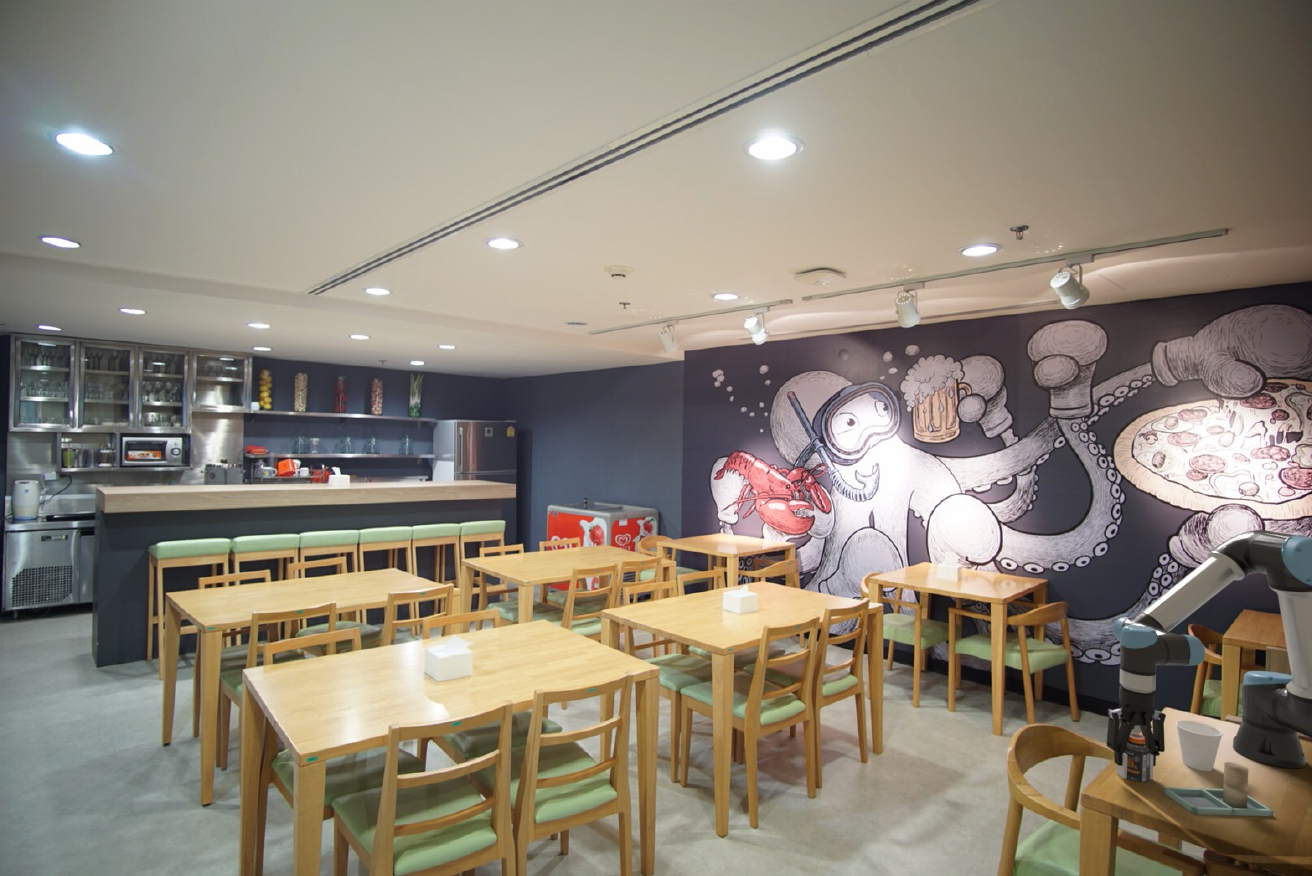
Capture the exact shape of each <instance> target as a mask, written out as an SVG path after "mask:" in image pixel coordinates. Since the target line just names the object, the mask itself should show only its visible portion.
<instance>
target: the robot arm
mask: <svg viewBox="0 0 1312 876" xmlns="http://www.w3.org/2000/svg"><path fill="white" fill-rule="evenodd" d="M1252 574H1261V575H1262V574H1263V575H1266V578H1267V585H1268V588H1269V589H1271V590H1272V591H1273V592H1275V593H1276V594H1277V597H1278V598H1277V599H1278V602H1279V603H1278V604H1279V610H1280V615H1281V620H1282V621H1281V622H1282V627H1283V632H1284V638H1285V644H1286V651H1287V658H1288V663H1289V668H1290V674H1287V673H1282V672H1276V671H1275V672H1274V671H1267V670H1266V671H1265V670H1264V671H1263V670H1250V671H1247V672H1246V673H1244V675H1243V682H1242V685H1241V686H1242V702H1241V703H1242V704H1241V706H1242V707H1241V708H1242V709H1241V712H1242V713H1241V714H1242V715H1241V723H1240V725H1239V728H1238V730H1237V731H1236V734H1235V736H1234V737H1233V739H1232V748H1233V750H1234V751H1236V752H1237V753H1238V754H1240V755H1242V756H1244V757H1246V758H1248V759H1249V760H1250V759H1251V760H1253V761H1256V762H1259V763H1262V764H1265V765H1269V766H1274V767H1279V768H1285V769H1302V768H1305V766H1306V755H1305V753H1304V750H1303V747H1302V744H1301V741H1300V737H1299V735H1298V734H1301V735H1304V736H1305V737H1308V738H1310V739H1312V537H1310V536H1308V535H1303V534H1302V535H1301V534H1291V533H1284V532H1277V531H1271V530H1265V529H1255V530H1254V529H1253V530H1249V531H1246V532H1245V531H1244V532H1242V533H1239V534H1236V535H1235V536H1232V537H1230V538H1228V539H1227V540H1225V541H1224V542H1221V543H1220V544H1219V545H1217V546H1216V547H1214V548H1213V549H1211V551H1209V552H1208V553H1207V559H1206V560H1205V561H1204V562H1203V563H1201V564H1200V565H1199V566H1197V567H1196V568H1195V569H1193V570H1192V571H1191V572H1190V573H1188V574H1187V575H1186V576H1185V577H1183V578H1182V579H1181V580H1180V581H1178V582H1177V583H1176V584H1175V585H1174V586H1172V587H1171V588H1170V589H1168V590H1167V591H1166V592H1165V593H1164V594H1162V595H1161V596H1159V597H1158V598H1157V599H1156V600H1154V601H1153V602H1152V603H1151V604H1150V605H1148V606H1147V607H1146V608H1144V609H1143V610H1142V611H1141V612H1140V613H1138V614H1137V615H1136V616H1134V617H1129V616H1124V617H1119V618H1118V619H1117V620H1115V621H1114V624H1113V628H1112V633H1113V636H1114V637H1115V639H1116V640H1117V641H1118V642H1119V644H1120V645H1119V646H1120V647H1119V648H1120V649H1119V651H1120V652H1119V653H1120V654H1119V655H1120V657H1119V658H1120V659H1119V660H1120V661H1119V684H1120V685H1119V688H1118V689H1119V691H1118V699H1119V706H1118V707H1117V708H1115V709H1111V708H1108V709H1107V711H1106V712H1107V715H1108V716H1107V717H1108V723H1107V724H1108V725H1107V726H1108V727H1107V735H1106V747H1107V748H1108V749H1110V750H1111V751H1113V753H1114V755H1113V756H1114V757H1113V761H1114V764H1116V774H1117V775H1118V776H1119V777H1121V778H1122V779H1123V780H1125V779H1127V754H1126V753H1124V752H1125V749H1126V746H1127V743H1128V740H1129V737H1130V734H1131V733H1132V731H1133V730H1134V729H1135V728H1136V726H1139V729H1140V731H1141V735H1142V736H1144V737H1145V745H1147V746H1148V748H1149V750H1150V752H1149V780H1153V778H1154V777H1153V776H1154V767H1156V764H1157V761H1156V760H1157V757H1159V756H1160V755H1161V754H1160V753H1164V752H1165V750H1166V749H1165V747H1166V746H1165V745H1166V744H1165V724H1164V723H1165V720H1166V717H1167V715H1166V714H1165V713H1164V712H1162V711H1160V710H1158V709H1155V708H1154V707H1155V705H1156V692H1155V691H1156V686H1157V685H1156V684H1157V683H1156V681H1157V680H1156V678H1157V677H1156V675H1157V666H1181V667H1182V666H1183V667H1189V666H1198V665H1200V664H1202V663H1203V662H1204V660H1205V658H1206V648H1205V647H1204V644H1203V642H1202V640H1200V639H1199V637H1196V636H1194V635H1192V634H1191V635H1190V634H1184V633H1182V634H1177V633H1173V632H1171V631H1172V630H1174V628H1175V627H1177V626H1178V625H1179V624H1180V623H1182V622H1183V621H1184V620H1186V619H1187V618H1188V617H1190V616H1191V615H1192V614H1194V613H1195V612H1196V611H1197V610H1198V609H1199V608H1201V607H1202V606H1203V605H1205V604H1206V603H1207V602H1209V600H1211V599H1212V598H1213V597H1214V596H1216V595H1217V594H1218V593H1220V592H1221V591H1222V590H1223V589H1225V588H1227V586H1229V585H1230V584H1232V582H1234V581H1242V580H1243V579H1244V578H1246V577H1247V576H1249V575H1252ZM1151 721H1152V723H1151Z"/></svg>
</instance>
